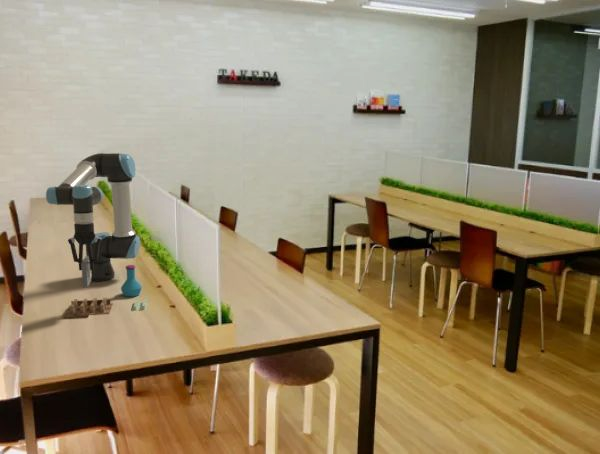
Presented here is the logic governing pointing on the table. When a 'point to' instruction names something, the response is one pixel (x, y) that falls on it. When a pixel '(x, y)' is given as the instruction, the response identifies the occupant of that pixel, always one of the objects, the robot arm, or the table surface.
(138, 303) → the stand
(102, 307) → the rack
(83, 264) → the thick grey slab
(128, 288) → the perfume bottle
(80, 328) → the table surface
